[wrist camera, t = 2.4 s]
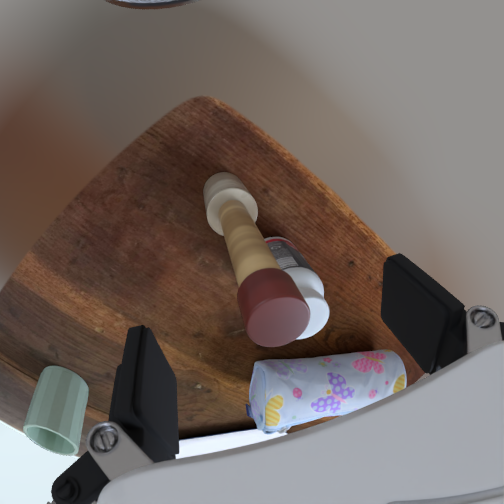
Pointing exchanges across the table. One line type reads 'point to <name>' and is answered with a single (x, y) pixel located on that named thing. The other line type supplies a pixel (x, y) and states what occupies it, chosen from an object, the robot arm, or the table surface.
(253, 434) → the plate
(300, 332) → the wooden rod
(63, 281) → the table surface
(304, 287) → the pill bottle
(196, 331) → the table surface
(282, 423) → the pencil case
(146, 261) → the table surface
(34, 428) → the cup
